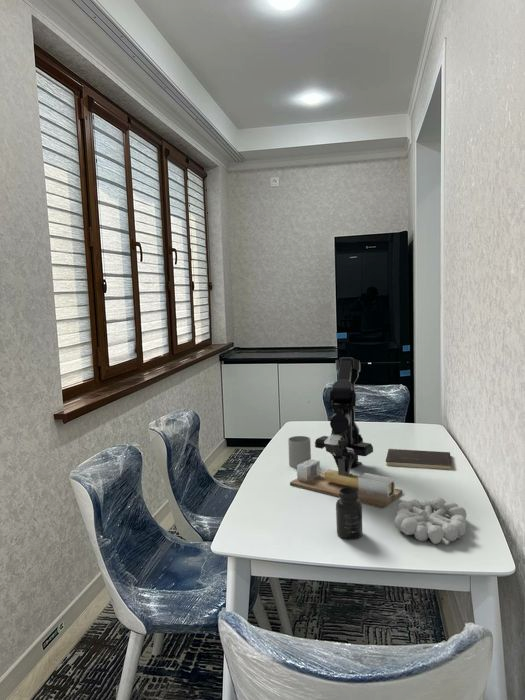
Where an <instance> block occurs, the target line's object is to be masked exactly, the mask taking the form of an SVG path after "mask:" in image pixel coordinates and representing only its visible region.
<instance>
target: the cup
mask: <svg viewBox="0 0 525 700" xmlns="http://www.w3.org/2000/svg"><path fill="white" fill-rule="evenodd" d="M287 442H288V465H289V467H290V468H293V469H297V465H299V464H301V463H303V462H305V461H307V460H309V459H312V455H311V453H312V451H311V450H312V449H311V445H312V444H311V438H310V437H309V436H305V435H296V436H295V435H294V436H291V437H289V438H288V440H287Z"/></svg>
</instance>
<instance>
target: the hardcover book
mask: <svg viewBox="0 0 525 700" xmlns="http://www.w3.org/2000/svg"><path fill="white" fill-rule="evenodd" d="M386 453H387V454H386V458H385V463H386V466H391V467H407V468H408V467H410V468H423V469H435V470H436V469H437V470H439V469H440V470H452V467H453V465H452V457H451V451H435V450H434V451H432V450H417V449H398V448H388V450H387V452H386Z"/></svg>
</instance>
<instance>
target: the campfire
mask: <svg viewBox="0 0 525 700" xmlns="http://www.w3.org/2000/svg"><path fill="white" fill-rule="evenodd" d="M446 515H447V516H449V517H450V518H447V517H446ZM466 518H467V511H466V509H465V508H464V507H461V506H459V505H458V503H457V502H454V501H449V502H447V501H446V500H445V499H444V498H443V497H439V496H438V497H435V498H433V500H431V501H429V500H427V499H426V500H425V499H424V500H421V501H419V500H417V499H413V498H412V499H411V500H408V501H407V500H403V501H401V502H400V503H398V507H397V512H396V516H395V517H394V522H393V524H394V525H395V528H396V529H397V530H398V531H401V532H402V533H404V535H406V536H413V535H414V537H415V539H416V540H418V541H419V542H427V541H428V539H430V540H431V542H432V544H435V545H436V544H439V543H440V542H441V541H442V539H443V538H444V540H446V541H448V542H450V541H451V542H452V541H456V539H458V538H459V537H460V538H461V537H463V536H465V535H466V529H467V527H468V523H467V519H466Z"/></svg>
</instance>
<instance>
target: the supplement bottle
mask: <svg viewBox="0 0 525 700" xmlns="http://www.w3.org/2000/svg"><path fill="white" fill-rule="evenodd" d="M338 498H339V499H337V500H336V502H335V519H336V521H335V522H336V525H335V526H336V534H337V536H338V537H339V538H341V539H345V540H347V541H348V540H350V541H351V540H352V541H353V540H357V539H359V538H361V537H362V536H363V505H362V504H363V503H361V502H360V501H359V500H358V491H357V490H356V489H353V488H343V489H341V490H340V491H339V497H338Z"/></svg>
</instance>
